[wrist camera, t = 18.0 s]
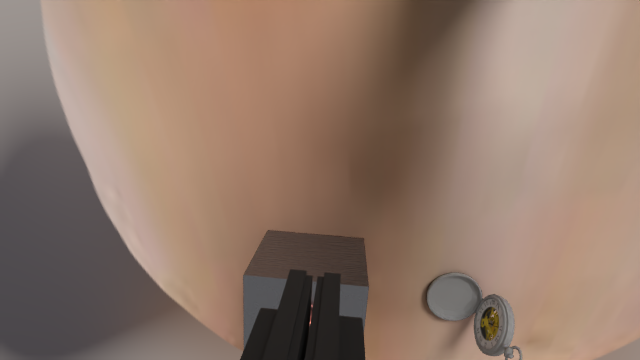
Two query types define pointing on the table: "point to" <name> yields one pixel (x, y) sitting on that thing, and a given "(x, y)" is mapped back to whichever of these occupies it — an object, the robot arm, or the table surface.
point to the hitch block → (316, 258)
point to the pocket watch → (465, 299)
